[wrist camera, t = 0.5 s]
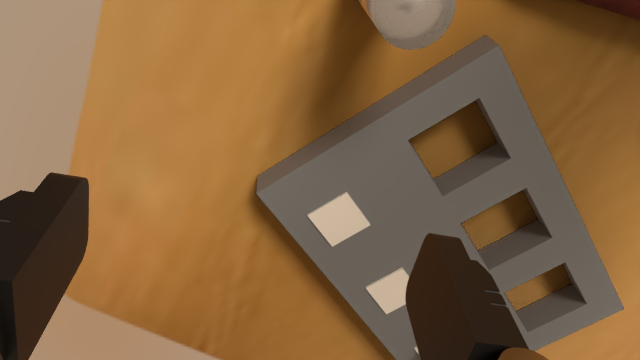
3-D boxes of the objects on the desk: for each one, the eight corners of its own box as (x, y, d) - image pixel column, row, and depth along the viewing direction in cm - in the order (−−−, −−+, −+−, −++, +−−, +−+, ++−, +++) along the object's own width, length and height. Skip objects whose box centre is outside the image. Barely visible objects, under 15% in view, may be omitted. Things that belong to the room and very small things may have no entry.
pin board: (485, 35, 34) (560, 89, 25) (607, 288, 46) (690, 389, 37) (257, 175, 38) (250, 268, 29) (423, 377, 50) (456, 489, 40)
